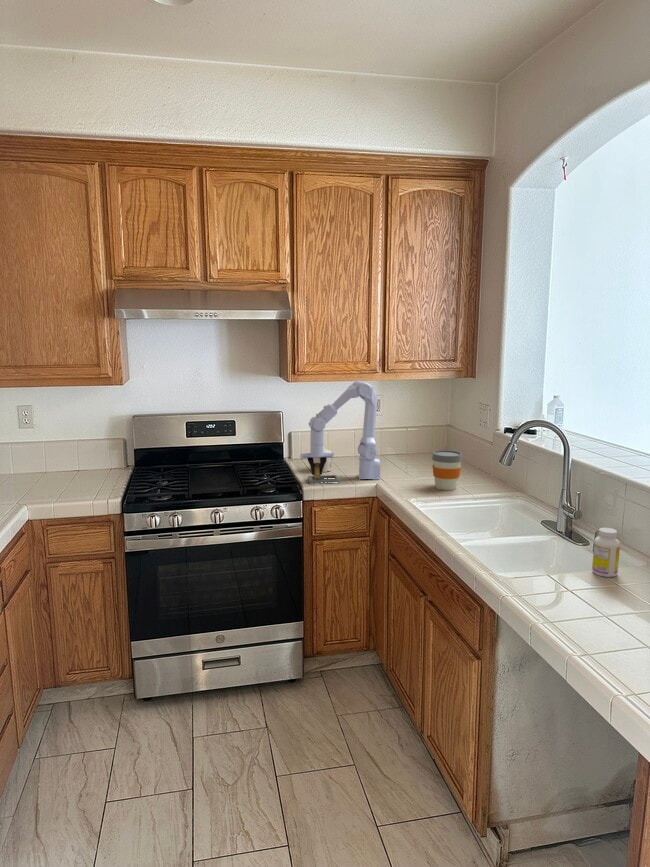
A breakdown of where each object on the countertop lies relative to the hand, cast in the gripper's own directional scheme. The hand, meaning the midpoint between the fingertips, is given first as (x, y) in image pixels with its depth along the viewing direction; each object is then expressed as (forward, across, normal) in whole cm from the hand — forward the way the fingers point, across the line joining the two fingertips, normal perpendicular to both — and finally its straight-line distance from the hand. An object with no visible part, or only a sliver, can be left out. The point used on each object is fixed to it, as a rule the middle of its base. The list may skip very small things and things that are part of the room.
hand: (316, 474), depth 271 cm
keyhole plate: (+3, -3, 0) cm, 4 cm away
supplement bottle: (+3, -71, +108) cm, 130 cm away
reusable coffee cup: (+3, -54, +15) cm, 56 cm away
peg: (+3, 0, 0) cm, 3 cm away
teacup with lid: (+3, -4, -21) cm, 22 cm away
